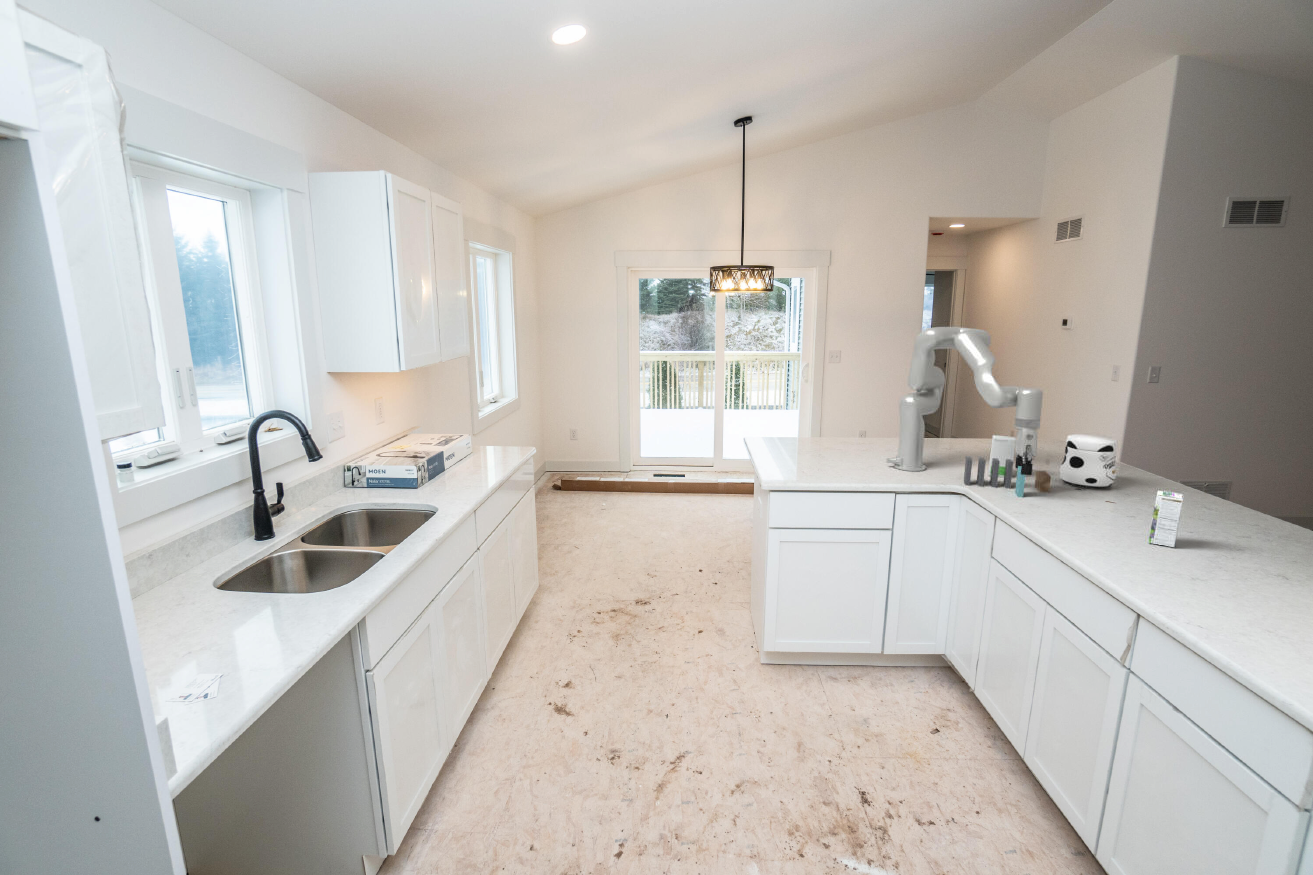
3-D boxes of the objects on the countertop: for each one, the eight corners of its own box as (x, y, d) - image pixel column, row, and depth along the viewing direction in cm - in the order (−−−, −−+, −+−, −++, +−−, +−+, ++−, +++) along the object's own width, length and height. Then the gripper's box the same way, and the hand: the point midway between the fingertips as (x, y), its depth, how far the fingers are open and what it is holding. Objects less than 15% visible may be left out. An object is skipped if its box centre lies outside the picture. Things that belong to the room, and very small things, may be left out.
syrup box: (1148, 538, 176) (1156, 489, 173) (1175, 542, 173) (1183, 493, 170) (1148, 544, 172) (1155, 494, 169) (1175, 548, 168) (1183, 498, 165)
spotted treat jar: (1124, 492, 220) (1131, 443, 216) (1070, 490, 223) (1076, 442, 220) (1100, 479, 237) (1106, 434, 233) (1050, 477, 240) (1056, 433, 236)
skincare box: (988, 475, 244) (991, 437, 241) (988, 472, 250) (991, 434, 246) (1012, 478, 240) (1016, 439, 237) (1011, 474, 246) (1015, 436, 243)
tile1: (965, 485, 231) (967, 459, 229) (963, 481, 236) (966, 456, 234) (969, 485, 231) (972, 459, 229) (968, 482, 235) (970, 456, 233)
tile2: (978, 486, 230) (980, 460, 228) (976, 482, 235) (979, 457, 233) (983, 486, 229) (985, 460, 227) (981, 483, 234) (983, 457, 232)
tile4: (1005, 488, 227) (1008, 462, 225) (1003, 484, 231) (1005, 459, 229) (1010, 488, 226) (1013, 462, 224) (1008, 485, 231) (1010, 459, 229)
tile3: (992, 487, 228) (994, 461, 226) (990, 483, 233) (992, 458, 231) (996, 487, 228) (999, 461, 226) (994, 484, 232) (997, 458, 230)
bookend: (1039, 491, 222) (1041, 475, 221) (1034, 485, 229) (1036, 470, 228) (1049, 492, 221) (1050, 476, 220) (1043, 486, 228) (1045, 471, 227)
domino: (1017, 496, 216) (1020, 469, 214) (1015, 492, 221) (1018, 466, 219) (1022, 497, 216) (1026, 469, 214) (1020, 493, 220) (1023, 466, 218)
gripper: (1045, 428, 204) (1041, 478, 207) (1034, 420, 220) (1030, 466, 223) (1020, 427, 206) (1015, 476, 209) (1010, 419, 222) (1006, 465, 225)
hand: (1023, 471), depth 216 cm, fingers open, 9 cm apart
